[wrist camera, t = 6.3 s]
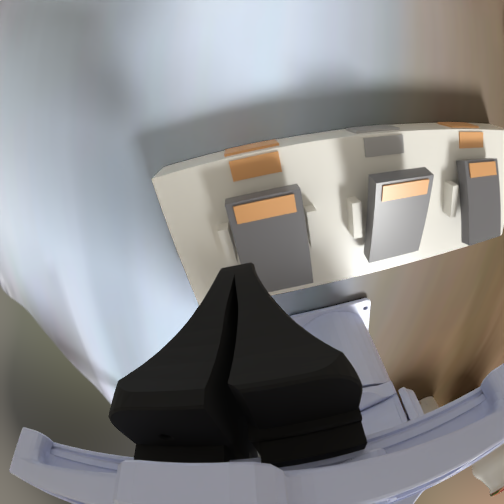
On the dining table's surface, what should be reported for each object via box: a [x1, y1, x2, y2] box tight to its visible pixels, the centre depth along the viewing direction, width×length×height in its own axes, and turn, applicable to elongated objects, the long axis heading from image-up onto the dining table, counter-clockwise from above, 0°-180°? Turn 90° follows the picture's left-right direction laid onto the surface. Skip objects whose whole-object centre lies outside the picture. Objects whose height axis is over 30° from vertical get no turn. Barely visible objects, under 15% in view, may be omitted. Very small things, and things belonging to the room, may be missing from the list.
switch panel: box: [152, 122, 504, 305], centre depth 18 cm, size 10×28×4 cm, turn 102°
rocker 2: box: [364, 167, 434, 263], centre depth 16 cm, size 6×4×1 cm, turn 12°
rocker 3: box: [456, 158, 501, 246], centre depth 15 cm, size 6×4×1 cm, turn 12°
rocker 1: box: [225, 184, 313, 292], centre depth 16 cm, size 6×4×1 cm, turn 12°
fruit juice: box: [472, 444, 504, 497], centre depth 33 cm, size 9×9×28 cm
